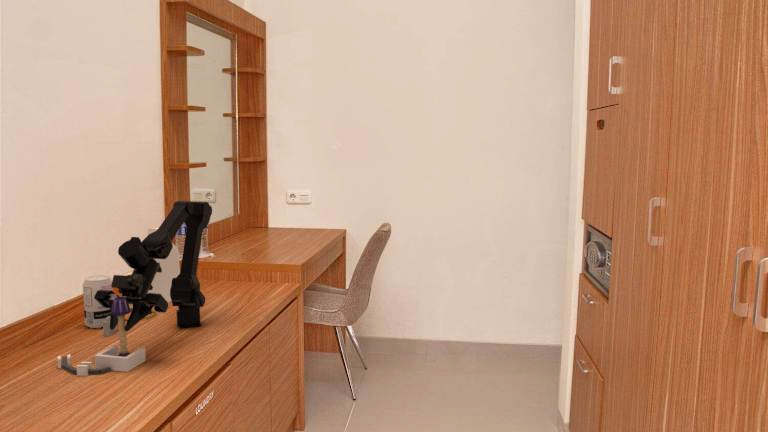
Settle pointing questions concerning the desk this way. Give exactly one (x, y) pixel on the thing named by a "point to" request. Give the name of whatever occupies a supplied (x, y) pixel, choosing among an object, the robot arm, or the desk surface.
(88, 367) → the clip
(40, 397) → the desk surface
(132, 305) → the extension cord
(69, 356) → the clip
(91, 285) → the supplement can
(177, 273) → the milk
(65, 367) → the cable run
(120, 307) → the toy lamp
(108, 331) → the lighter
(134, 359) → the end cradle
